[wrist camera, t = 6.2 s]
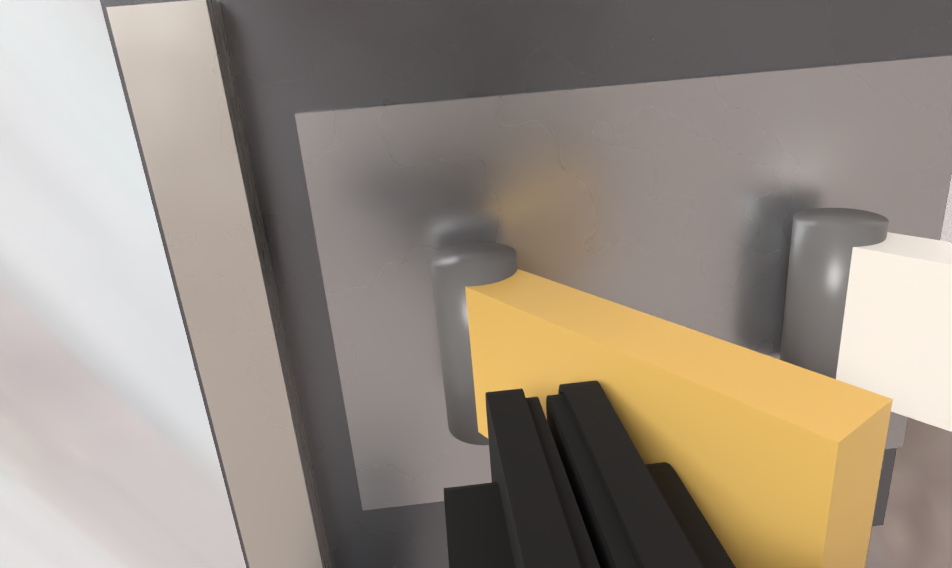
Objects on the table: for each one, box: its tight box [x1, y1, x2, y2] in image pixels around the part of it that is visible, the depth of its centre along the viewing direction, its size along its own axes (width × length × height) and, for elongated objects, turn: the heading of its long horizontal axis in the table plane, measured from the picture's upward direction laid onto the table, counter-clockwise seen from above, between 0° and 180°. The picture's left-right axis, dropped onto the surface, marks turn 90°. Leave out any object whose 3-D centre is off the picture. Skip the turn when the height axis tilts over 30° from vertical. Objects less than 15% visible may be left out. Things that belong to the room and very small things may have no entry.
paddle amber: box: [430, 242, 893, 568], centre depth 11 cm, size 2×4×8 cm
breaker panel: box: [100, 0, 952, 568], centre depth 16 cm, size 16×14×5 cm
